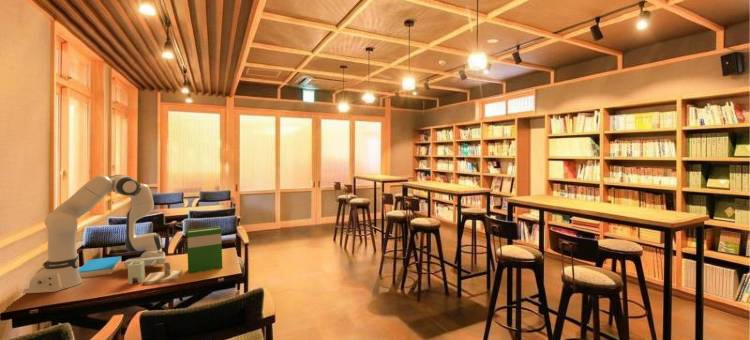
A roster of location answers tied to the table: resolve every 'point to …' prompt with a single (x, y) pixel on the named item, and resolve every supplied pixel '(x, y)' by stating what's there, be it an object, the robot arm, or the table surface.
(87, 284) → the table surface
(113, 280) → the table surface
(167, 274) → the post board
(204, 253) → the hardback book
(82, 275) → the book
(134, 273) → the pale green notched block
